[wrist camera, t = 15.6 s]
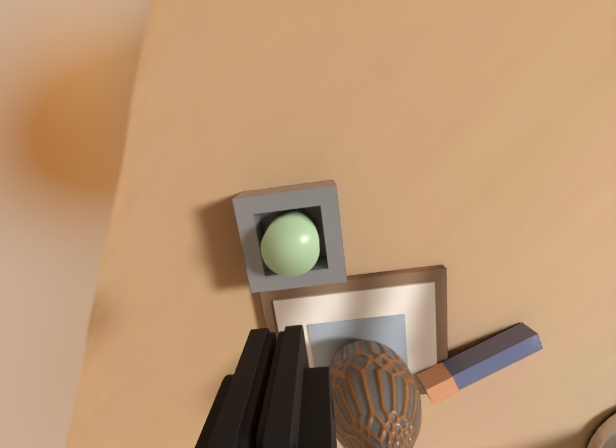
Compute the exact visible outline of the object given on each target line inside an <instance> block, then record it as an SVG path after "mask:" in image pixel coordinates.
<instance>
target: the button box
mask: <svg viewBox="0 0 616 448" xmlns="http://www.w3.org/2000/svg"><path fill="white" fill-rule="evenodd" d="M232 202H233V207H234V212H235V216H236V221H237V226H238V231H239V236H240V241H241V246H242V251H243V255H244V260H245V265H246V270H247V275H248V280H249V285H250V290H251V293H257V292H265V291H274V290H282V289H291V288H299V287H308V286H317V285H325V284H334V283H342V282H347V277H346V268H345V258H344V249H343V240H342V231H341V222H340V213H339V204H338V195H337V186H336V184H335V182H334V180H327V181H320V182H312V183H305V184H297V185H290V186H282V187H275V188H267V189H260V190H252V191H245V192H241V193H240V194H238V195H237V196H236V197H234V198H233V199H232ZM297 208H298V209H302V210H304V211H306V212H308V213H309V214H310V215H311V216H312V217H313V218H314V219H315V221H316V223H317V226H318V234H319V248H320V251H319V257H318V260H317V262H316V263H315V265H314V266H313V267H312V268H311V269H310V270H309V271H308V272H306V273H304V274H302V275H299V276H294V277H288V276H282V275H279V274H277V273H275V272H274V271H272V270H271V269H270V268H269V267H268V266H267V265H266V264H265V262H264V260H263V258H262V255H261V242H262V238H263V236H264V234H265V232H266V230H267V228H268V227H269V225H270V223H271V221H272V219H273V218H274V216H275V215H276V214H278V213H279V212H280V211H282V210H289V209H297Z"/></svg>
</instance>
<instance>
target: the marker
mask: <svg viewBox="0 0 616 448" xmlns="http://www.w3.org/2000/svg"><path fill="white" fill-rule="evenodd" d="M541 349H543V348H542V345H541V342H540V339H539V336H538V334H537V333H536V332H535V331H533V330H532V329H530V328H529V327H528V326H526V325H525V324H524V323H520V324H518V325H516V326H514V327H512V328H510V329H508V330H506V331H504V332H502V333H500V334H498V335H496V336H494V337H492V338H490V339H488V340H486V341H484V342H482V343H480V344H478V345H476V346H474V347H472V348H470V349H468V350H466V351H464V352H462V353H460V354H458V355H456V356H454V357H452V358H450V359H448V360H446V361H444V362H441V363H439V364H437V365H435V366H433V367H431V368H429V369H427V370H425V371H423V372H421V373H419V374H417V377H418V379H419V381H420V383H421V385H422V387H423V389H424V390H425V392H426V394H427V395H428V397H429V399H430V400H431V402H432V404H435V403H437V402H439V401H441V400H444V399H446V398H448V397H450V396H452V395H454V394H456V393H458V392H459V390H460V389H462V388H464V387H466V386H468V385H470V384H472V383H474V382H476V381H478V380H480V379H482V378H484V377H486V376H488V375H490V374H492V373H494V372H496V371H498V370H500V369H502V368H504V367H506V366H509V365H511V364H513V363H515V362H517V361H519V360H521V359H523V358H525V357H527V356H529V355H531V354H533V353H535V352H537V351H539V350H541Z"/></svg>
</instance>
